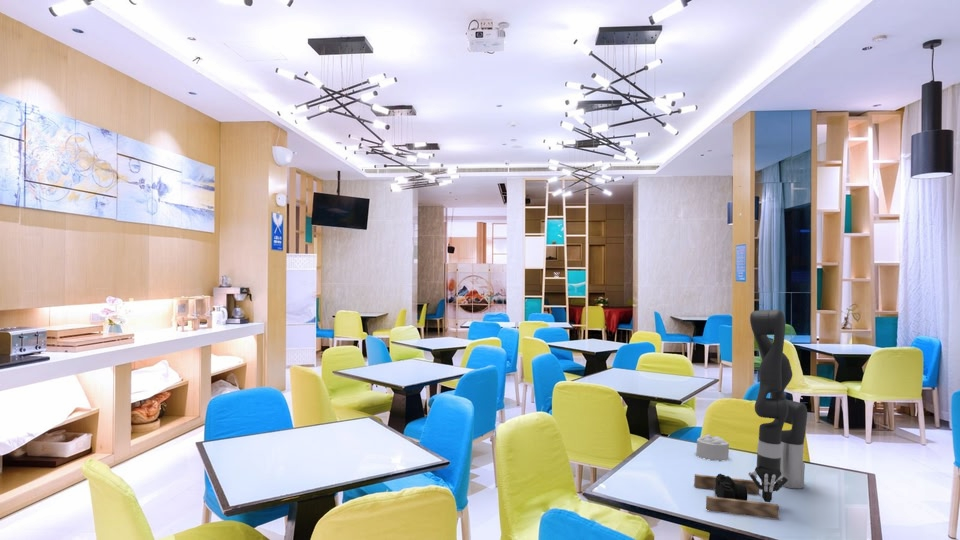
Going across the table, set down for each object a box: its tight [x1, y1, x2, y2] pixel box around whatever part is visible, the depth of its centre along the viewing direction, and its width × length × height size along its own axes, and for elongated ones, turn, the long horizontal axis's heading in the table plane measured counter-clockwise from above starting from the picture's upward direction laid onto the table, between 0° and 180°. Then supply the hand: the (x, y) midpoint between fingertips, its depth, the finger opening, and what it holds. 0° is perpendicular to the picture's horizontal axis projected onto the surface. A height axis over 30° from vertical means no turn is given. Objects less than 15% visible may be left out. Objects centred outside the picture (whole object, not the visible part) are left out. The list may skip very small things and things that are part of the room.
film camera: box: [714, 473, 749, 501], centre depth 192 cm, size 15×10×9 cm, turn 167°
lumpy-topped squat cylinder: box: [695, 433, 730, 461], centre depth 237 cm, size 10×13×9 cm
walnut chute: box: [693, 473, 780, 520], centre depth 192 cm, size 23×21×4 cm
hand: (766, 501), depth 190 cm, fingers closed
